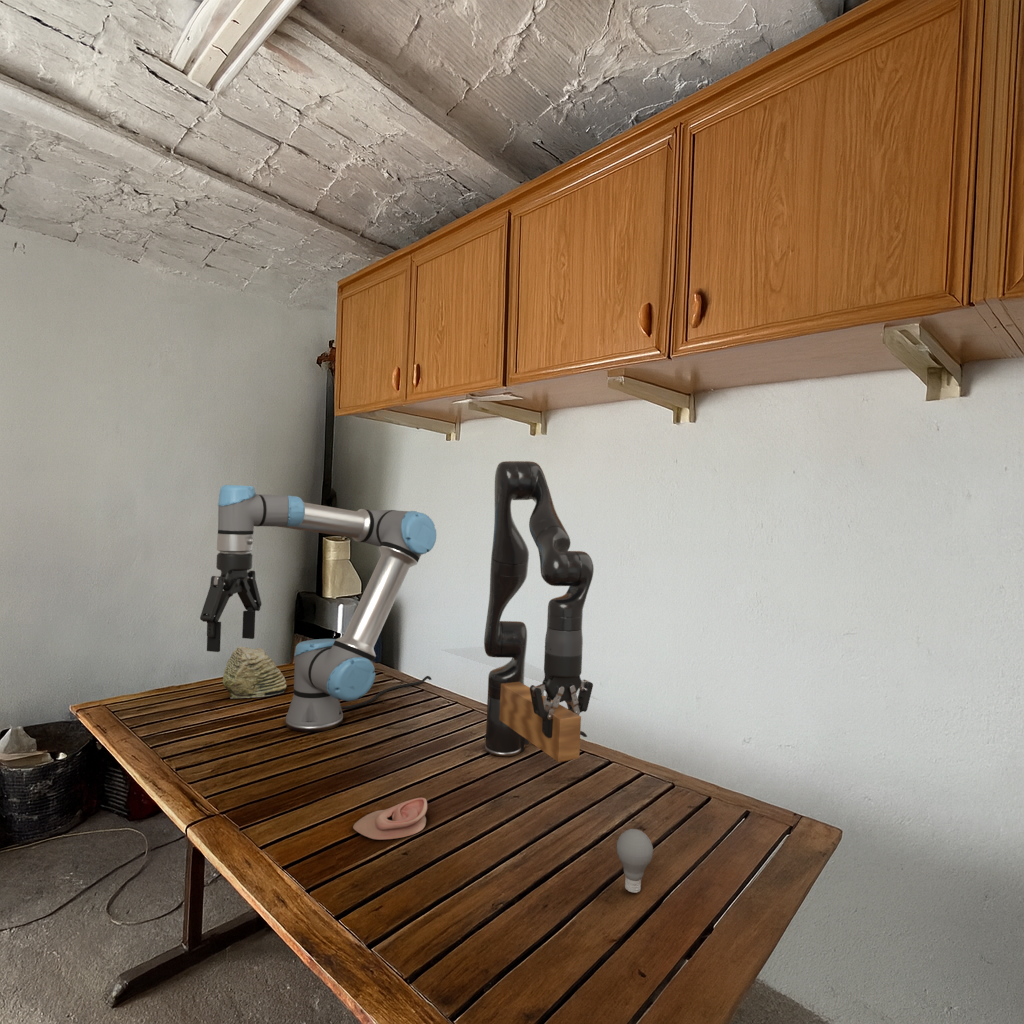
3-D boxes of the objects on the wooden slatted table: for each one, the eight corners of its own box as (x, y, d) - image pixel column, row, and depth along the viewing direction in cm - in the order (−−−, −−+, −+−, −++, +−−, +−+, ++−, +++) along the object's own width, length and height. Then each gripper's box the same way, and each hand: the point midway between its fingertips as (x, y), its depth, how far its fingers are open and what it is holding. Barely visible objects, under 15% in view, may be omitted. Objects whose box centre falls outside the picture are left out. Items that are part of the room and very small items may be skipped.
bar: (499, 720, 145) (500, 683, 145) (518, 717, 147) (519, 681, 147) (558, 762, 123) (560, 719, 123) (579, 758, 125) (581, 716, 125)
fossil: (218, 695, 195) (220, 647, 195) (278, 685, 208) (279, 640, 207) (228, 703, 189) (230, 653, 188) (289, 692, 201) (290, 645, 201)
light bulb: (610, 879, 108) (613, 822, 108) (644, 879, 109) (647, 822, 109) (619, 902, 102) (622, 840, 102) (655, 901, 103) (658, 840, 103)
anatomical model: (346, 814, 119) (372, 787, 130) (345, 835, 119) (371, 806, 130) (413, 824, 116) (433, 796, 127) (412, 846, 116) (432, 816, 127)
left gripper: (216, 557, 132) (213, 658, 133) (278, 549, 157) (275, 634, 157) (184, 555, 133) (180, 655, 134) (250, 547, 158) (247, 632, 158)
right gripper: (542, 657, 120) (538, 746, 120) (603, 651, 127) (600, 736, 127) (523, 648, 127) (519, 733, 127) (582, 643, 133) (579, 724, 134)
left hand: (231, 644), depth 146 cm, fingers open, 13 cm apart
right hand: (559, 734), depth 127 cm, fingers closed on bar, 5 cm apart
